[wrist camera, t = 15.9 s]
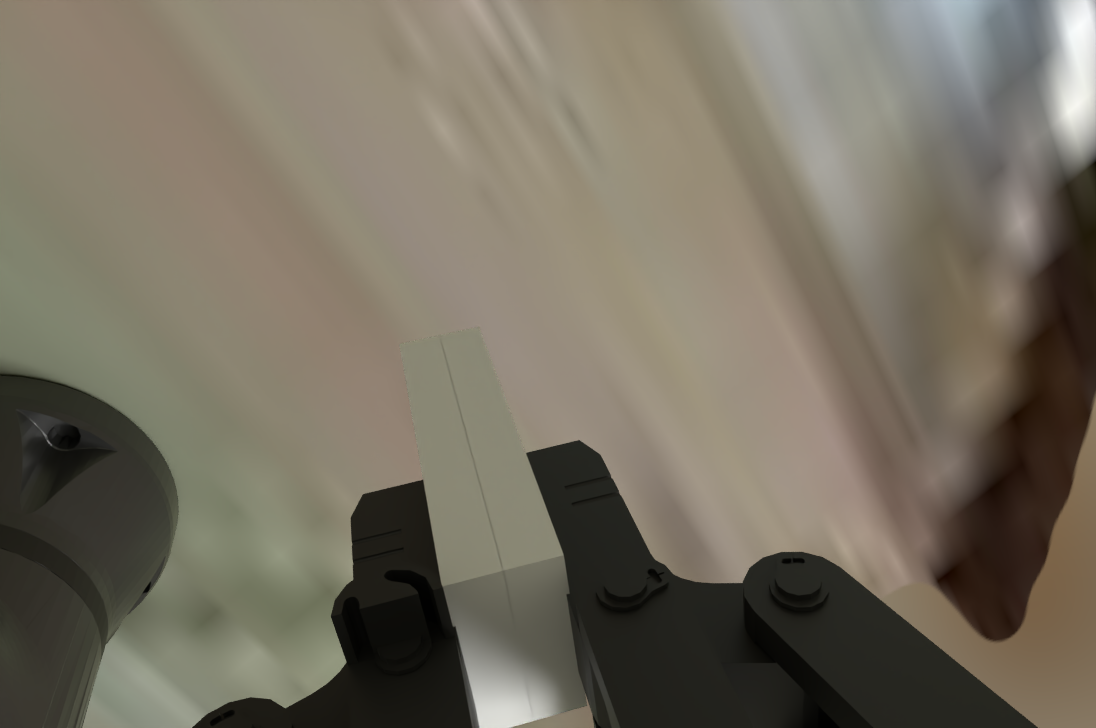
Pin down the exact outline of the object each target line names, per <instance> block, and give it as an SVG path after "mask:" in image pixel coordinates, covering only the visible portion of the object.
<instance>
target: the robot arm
mask: <svg viewBox="0 0 1096 728" xmlns="http://www.w3.org/2000/svg"><path fill="white" fill-rule="evenodd" d="M400 350H401V356H402V362H403V367H404V373H405V379H406V384H407V390H408V396H409V402H410V407H411V413H412V419H413V424H414V430H415V436H416V442H417V447H418V453H419V459H420V464H421V470H422V476H423V480H421V481H416V482H412V483H408V484H404V485H400V486H396V487H391V488H387V489H383V490H379V491H375V492H371V493H366V494H363V495H362V497H361V499H360V501H359V503H358V505H357V507H356V509H355V511H354V513H353V514H352V516H351V534H352V544H353V545H352V556H353V564H354V565H353V578H354V580H353V581H351V582H350V583H348V584H347V585H346V586H345V588H344V589H343V590H342V592H341V593H340V594H339V596H338V597H337V598H336V599H335V602H334V606H333V610H332V614H331V618H332V621H333V624H334V627H335V630H336V633H337V636H338V638H339V641H340V644H341V647H342V650H343V653H344V656H345V659H346V661H347V663H346V664H345V665H344V667H343V668H342V670H341V671H340V672H339V673H338V674H337V675H336V676H335V677H334V678H333V679H332V680H331V681H330V682H329V683H328V684H326V685H325V686H323V687H322V688H320V689H319V690H317V691H316V692H314V693H313V694H311V695H309V696H307V697H306V698H304V699H302V700H300V701H298V702H296V703H295V704H293V705H291V706H289V707H287V708H286V709H285V708H284V707H282V706H280V705H279V704H277V703H275V702H274V701H272V700H271V699H262V698H252V697H250V698H246V699H242V700H238V701H234V702H229V703H227V704H225V705H223V706H222V707H220V708H218V709H216V710H214V711H212V712H210V713H208V714H207V715H206V716H204V717H203V718H202V719H201V720H200V721H199V722H198V723H197V724H196V725H195V726H193V727H192V728H510V727H514V726H517V725H521V724H524V723H528V722H531V721H535V720H538V719H542V718H545V717H549V716H552V715H556V714H559V713H563V712H566V711H570V710H573V709H577V708H581V707H584V706H587V702H586V696H587V699H588V702H589V705H590V708H591V711H592V714H593V721H594V728H1038V727H1036V726H1035V725H1034V724H1033V723H1031V722H1030V721H1029V720H1028V719H1026V718H1025V717H1024V716H1022V714H1020V713H1019V712H1018V711H1017V710H1015V709H1014V708H1013V707H1012V706H1010V705H1009V704H1008V703H1007V702H1006V701H1004V700H1003V699H1002V698H1001V697H999V696H998V695H997V694H996V693H994V692H993V691H992V690H991V689H989V688H988V687H987V686H986V685H984V684H983V683H982V682H981V681H980V680H978V679H977V678H976V677H975V676H973V675H972V674H971V673H970V672H969V671H967V670H966V669H965V668H964V667H962V666H961V665H960V664H959V663H957V662H956V661H955V660H954V659H952V658H951V657H950V656H949V655H948V654H946V653H945V652H944V651H943V650H941V649H940V648H939V647H938V646H937V645H935V644H934V643H933V642H932V641H930V640H929V639H928V638H927V637H925V636H924V635H923V634H922V633H920V632H919V631H918V630H917V629H915V628H914V627H913V626H912V625H911V624H909V623H908V622H907V621H906V620H904V619H903V618H902V617H901V616H899V615H898V614H897V613H896V612H895V611H893V610H892V609H891V608H890V607H888V606H887V605H886V604H885V603H883V602H882V601H881V600H880V599H879V598H877V597H876V596H875V595H874V594H872V593H871V592H870V591H869V590H867V589H866V588H865V587H864V586H863V585H861V584H860V583H859V582H858V581H856V580H855V579H854V578H853V577H851V576H850V575H849V574H848V573H847V572H845V571H844V570H843V569H842V568H840V567H839V566H837V565H835V564H834V563H832V562H830V561H828V560H827V559H825V558H823V557H820V556H816V555H812V554H808V553H804V552H780V553H777V554H774V555H770V556H767V557H764V558H762V559H761V560H759V561H758V562H757V563H755V564H754V565H753V566H751V567H750V568H749V570H748V572H747V574H746V576H745V578H744V580H743V583H701V582H694V581H690V580H686V579H682V578H680V577H678V576H675V575H673V574H672V572H671V571H670V570H669V569H668V568H667V567H666V566H665V565H664V564H662V563H660V562H658V561H656V560H655V559H654V558H653V557H652V555H651V554H650V552H649V550H648V548H647V546H646V544H645V542H644V540H643V538H642V536H641V534H640V532H639V530H638V528H637V526H636V524H635V522H634V520H633V518H632V516H631V514H630V512H629V510H628V508H627V506H626V504H625V502H624V500H623V498H622V496H621V495H620V494H619V490H618V488H617V486H616V485H615V483H614V481H613V479H611V475H610V473H609V471H608V469H607V467H606V465H605V463H604V461H603V459H602V457H601V455H600V454H599V453H597V452H596V451H594V450H593V449H591V448H590V447H588V446H587V445H585V444H584V443H583V442H581V441H580V440H578V441H574V442H570V443H566V444H561V445H557V446H553V447H549V448H545V449H541V450H536V451H532V452H528V453H526V452H525V449H524V447H523V444H522V441H521V439H520V436H519V433H518V431H517V428H516V425H515V422H514V420H513V417H512V414H511V412H510V409H509V406H508V404H507V401H506V398H505V396H504V393H503V390H502V388H501V385H500V382H499V379H498V377H497V374H496V371H495V369H494V366H493V363H492V361H491V358H490V355H489V353H488V350H487V347H486V344H485V342H484V339H483V336H482V334H481V331H480V328H479V327H475V328H471V329H466V330H462V331H457V332H452V333H448V334H443V335H438V336H434V337H429V338H425V339H420V340H415V341H411V342H406V343H402V344H400ZM177 521H178V496H177V490H176V486H175V483H174V479H173V477H172V474H171V471H170V469H169V467H168V465H167V463H166V461H165V460H164V458H163V456H162V454H161V453H160V452H159V450H158V449H157V447H156V446H155V445H154V444H153V442H152V441H151V440H150V439H149V438H148V437H147V436H146V435H145V434H144V432H143V431H142V430H141V429H139V428H138V427H137V426H136V425H135V424H134V423H133V422H131V421H130V420H129V419H128V418H126V417H125V416H124V415H122V414H121V413H119V412H118V411H116V410H115V409H113V408H111V407H110V406H108V405H106V404H105V403H103V402H101V401H99V400H97V399H95V398H93V397H91V396H89V395H86V394H84V393H82V392H79V391H76V390H74V389H71V388H68V387H65V386H61V385H58V384H54V383H50V382H46V381H42V380H36V379H31V378H23V377H14V376H0V728H82V726H83V722H84V719H85V715H86V711H87V708H88V704H89V701H90V697H91V693H92V690H93V686H94V682H95V679H96V675H97V672H98V669H99V665H100V662H101V659H102V655H103V652H104V649H105V645H106V644H107V643H108V641H109V640H110V639H111V638H112V636H113V635H114V634H115V632H116V631H117V629H118V628H119V626H120V624H121V622H122V621H123V619H124V618H125V617H126V615H128V614H129V613H130V612H131V611H132V610H133V609H135V608H136V607H137V606H138V605H139V604H140V603H141V602H142V601H143V600H144V598H145V597H146V596H147V595H148V593H149V592H150V591H151V590H152V588H153V587H154V586H155V584H156V583H157V581H158V579H159V578H160V576H161V574H162V572H163V570H164V568H165V566H166V563H167V561H168V558H169V555H170V552H171V547H172V543H173V539H174V535H175V531H176V526H177ZM585 693H586V696H585Z"/></svg>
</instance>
